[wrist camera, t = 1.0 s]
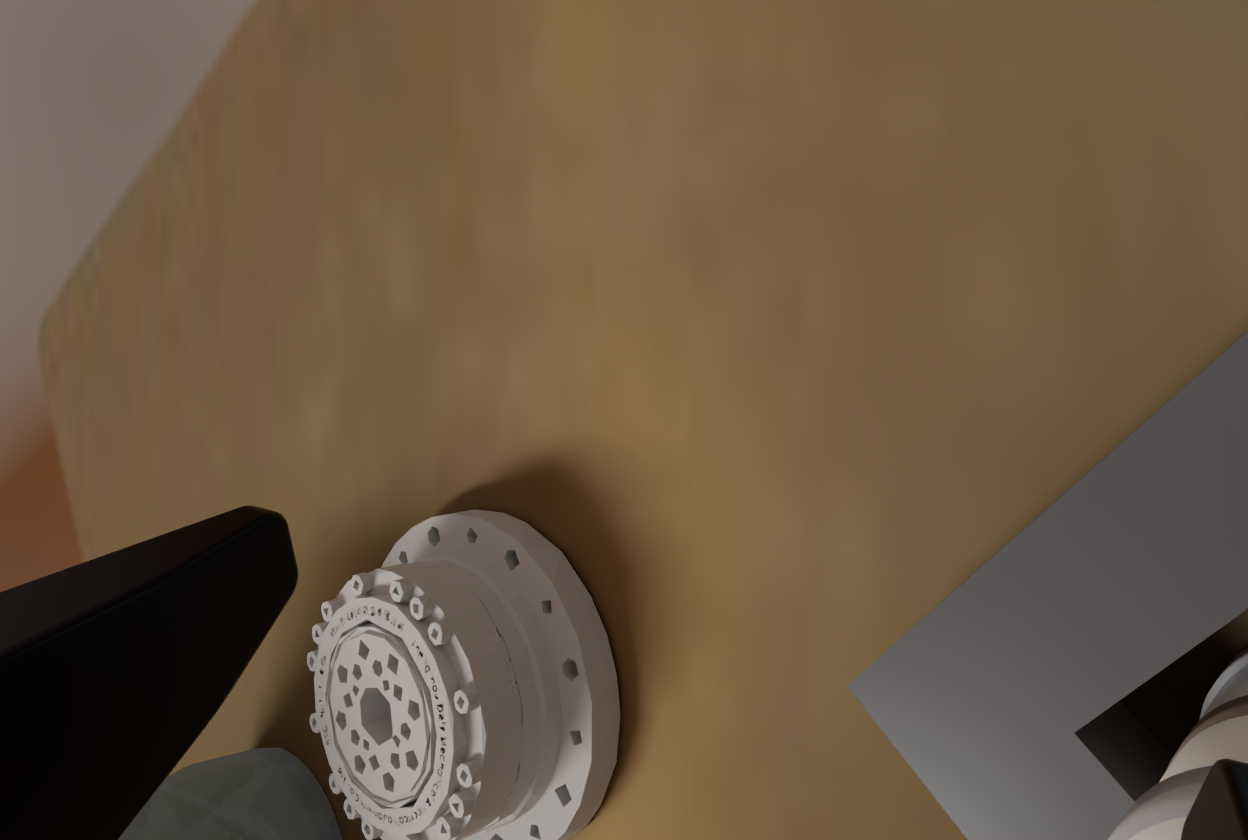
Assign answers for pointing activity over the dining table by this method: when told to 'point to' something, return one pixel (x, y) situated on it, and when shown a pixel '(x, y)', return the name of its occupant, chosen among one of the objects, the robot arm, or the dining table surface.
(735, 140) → the dining table surface
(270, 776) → the blue-grey cup
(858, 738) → the dining table surface
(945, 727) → the socket block
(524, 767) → the mechanical component
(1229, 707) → the cylinder
